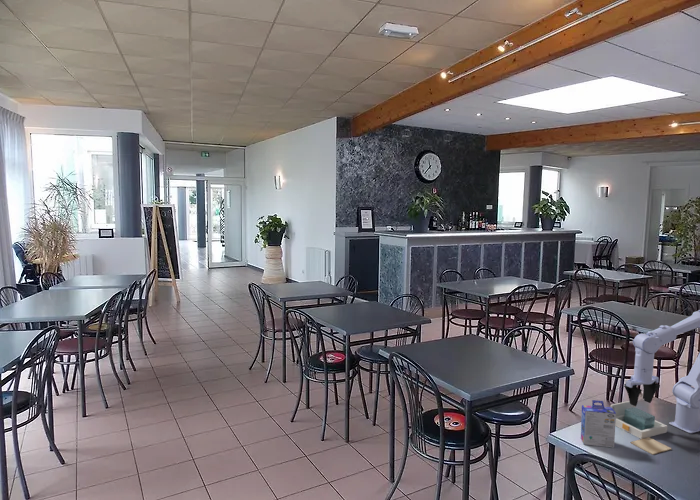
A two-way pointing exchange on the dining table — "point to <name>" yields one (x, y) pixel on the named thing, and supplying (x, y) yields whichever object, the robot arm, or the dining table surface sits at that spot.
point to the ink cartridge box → (598, 425)
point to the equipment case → (641, 434)
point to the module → (639, 418)
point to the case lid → (621, 407)
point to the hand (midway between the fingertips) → (640, 403)
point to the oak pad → (651, 445)
